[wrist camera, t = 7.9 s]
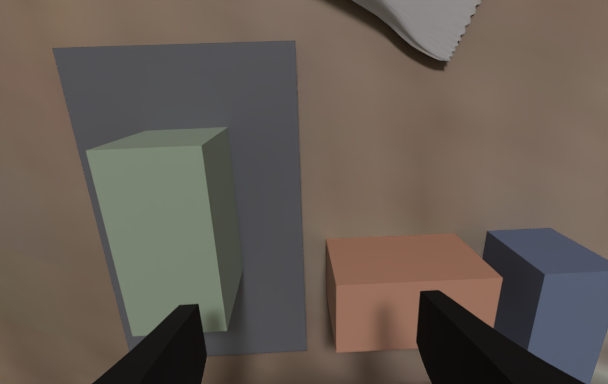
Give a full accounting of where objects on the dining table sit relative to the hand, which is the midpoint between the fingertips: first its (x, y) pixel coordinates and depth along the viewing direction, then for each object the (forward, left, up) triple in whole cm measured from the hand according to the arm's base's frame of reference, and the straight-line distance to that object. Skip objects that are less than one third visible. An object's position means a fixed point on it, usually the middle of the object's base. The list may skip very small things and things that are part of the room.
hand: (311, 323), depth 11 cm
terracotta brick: (-4, -5, -10) cm, 11 cm away
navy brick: (-6, -13, -10) cm, 17 cm away
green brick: (+1, +6, -8) cm, 10 cm away
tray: (0, +6, -9) cm, 11 cm away
